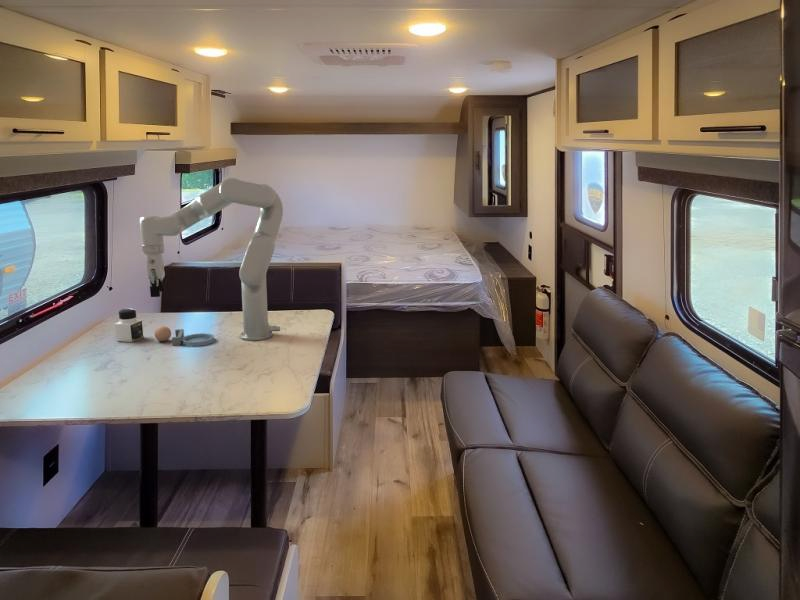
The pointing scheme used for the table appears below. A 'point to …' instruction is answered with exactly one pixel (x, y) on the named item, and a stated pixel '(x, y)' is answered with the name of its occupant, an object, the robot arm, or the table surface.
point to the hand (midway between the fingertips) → (157, 294)
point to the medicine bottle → (128, 326)
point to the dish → (197, 339)
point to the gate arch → (178, 337)
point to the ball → (162, 333)
